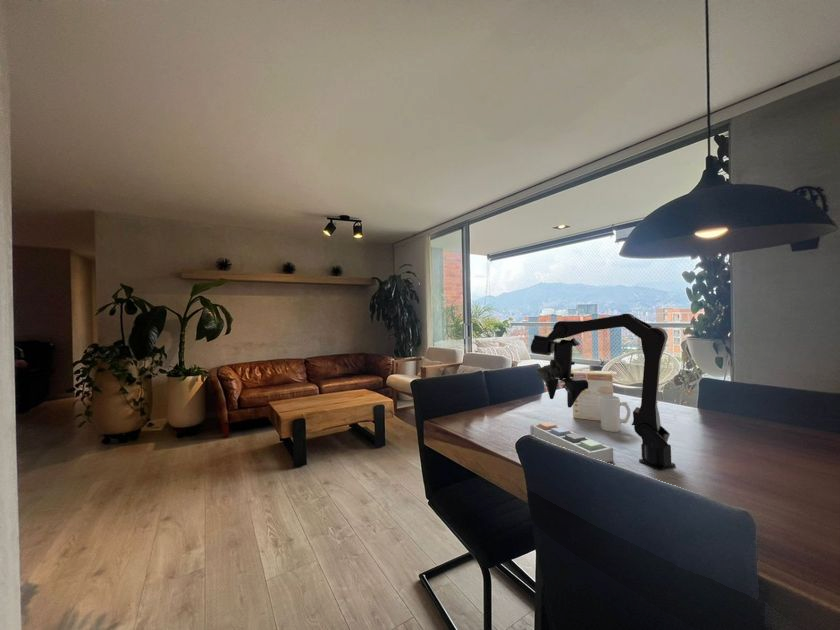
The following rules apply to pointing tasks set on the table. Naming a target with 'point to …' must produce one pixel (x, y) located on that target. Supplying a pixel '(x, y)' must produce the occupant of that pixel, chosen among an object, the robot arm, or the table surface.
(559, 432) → the key blue
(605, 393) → the coffeecake box
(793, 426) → the table surface
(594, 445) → the key sage
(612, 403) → the mug
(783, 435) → the table surface
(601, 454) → the keypad
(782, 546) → the table surface
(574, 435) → the key charcoal
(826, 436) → the table surface
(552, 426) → the key terracotta
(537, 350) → the robot arm
